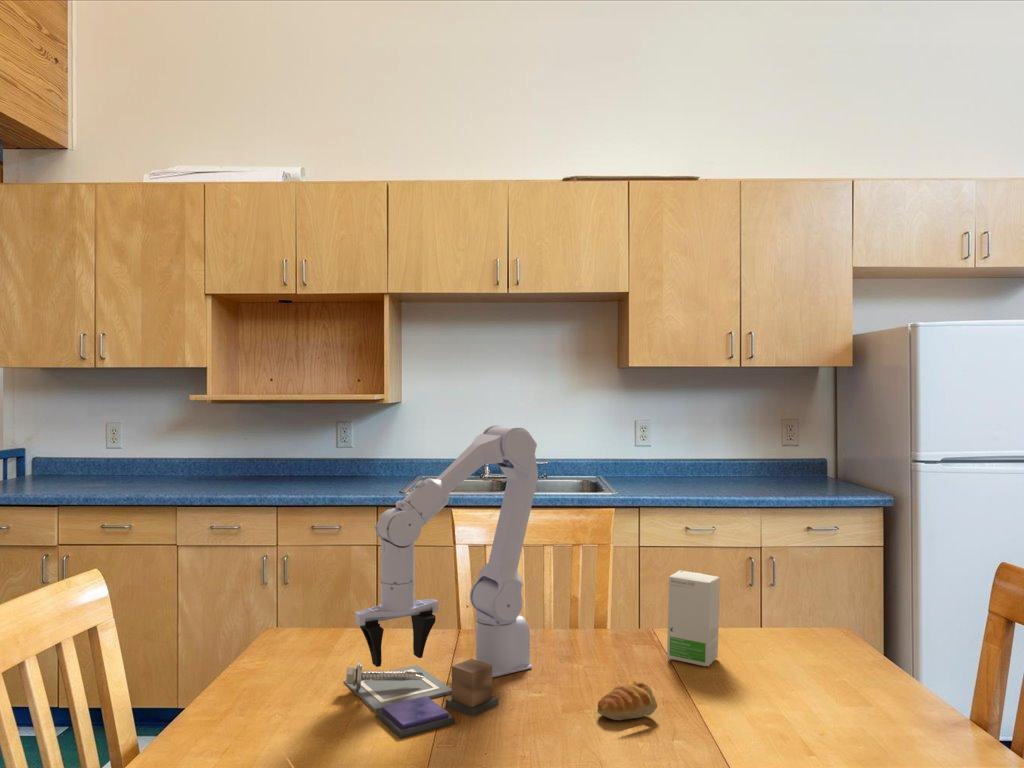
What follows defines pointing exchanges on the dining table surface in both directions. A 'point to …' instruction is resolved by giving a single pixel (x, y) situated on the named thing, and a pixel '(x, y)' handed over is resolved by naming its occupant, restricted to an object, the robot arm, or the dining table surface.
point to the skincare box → (693, 617)
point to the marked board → (400, 689)
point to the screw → (378, 676)
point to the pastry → (628, 702)
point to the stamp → (471, 688)
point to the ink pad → (414, 716)
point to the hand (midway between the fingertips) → (397, 660)
